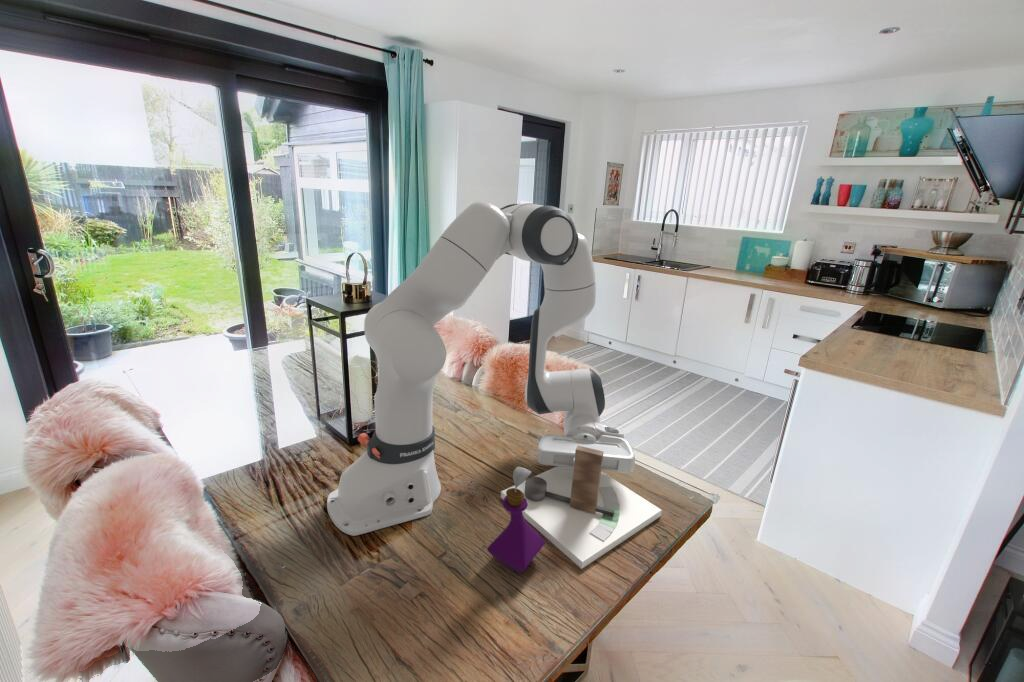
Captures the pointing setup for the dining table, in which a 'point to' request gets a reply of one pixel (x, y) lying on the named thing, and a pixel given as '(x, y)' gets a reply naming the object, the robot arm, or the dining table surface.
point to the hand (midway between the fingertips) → (586, 475)
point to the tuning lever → (575, 483)
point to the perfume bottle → (516, 530)
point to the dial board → (587, 516)
